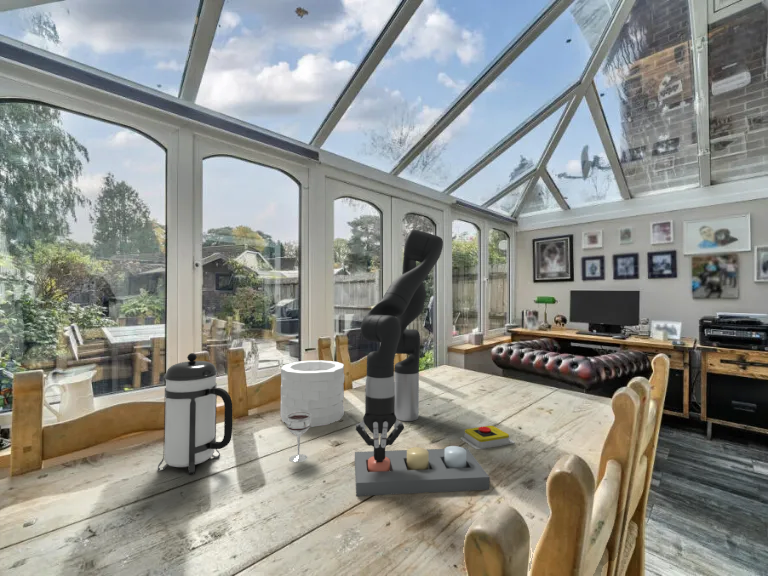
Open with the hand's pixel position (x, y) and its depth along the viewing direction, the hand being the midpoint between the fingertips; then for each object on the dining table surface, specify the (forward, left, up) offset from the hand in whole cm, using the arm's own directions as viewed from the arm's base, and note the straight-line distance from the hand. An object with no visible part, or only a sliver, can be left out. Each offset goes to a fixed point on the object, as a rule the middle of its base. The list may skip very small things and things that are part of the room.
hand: (379, 460), depth 90 cm
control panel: (+7, +7, -4) cm, 11 cm away
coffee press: (-43, -27, -4) cm, 51 cm away
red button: (0, 0, -4) cm, 4 cm away
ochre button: (+7, +7, -2) cm, 10 cm away
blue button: (+14, +14, -2) cm, 20 cm away
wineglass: (-24, -7, -4) cm, 25 cm away
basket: (-48, +18, -4) cm, 52 cm away
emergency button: (+12, +40, -5) cm, 42 cm away
